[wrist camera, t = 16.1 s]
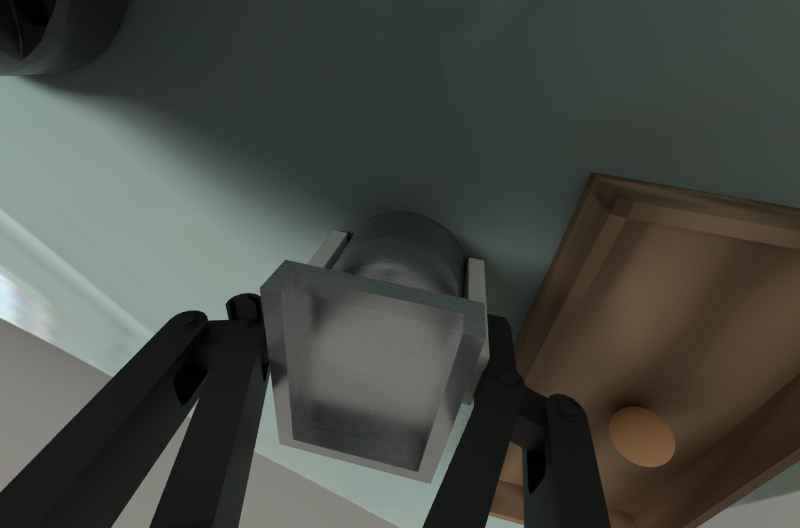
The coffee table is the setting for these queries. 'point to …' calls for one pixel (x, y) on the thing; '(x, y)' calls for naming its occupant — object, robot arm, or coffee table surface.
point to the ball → (642, 436)
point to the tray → (671, 345)
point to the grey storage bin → (374, 347)
